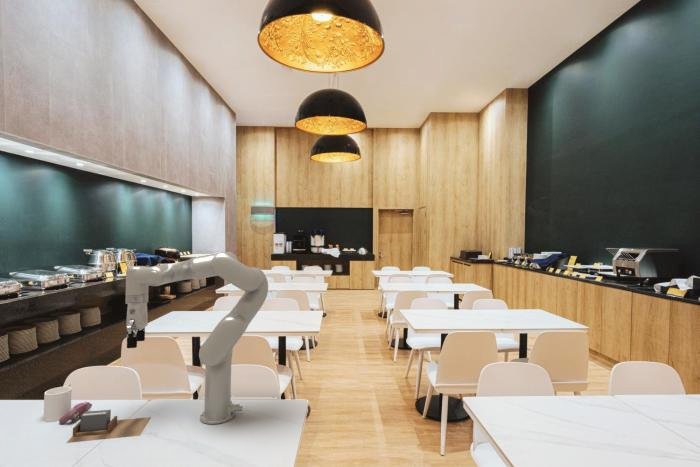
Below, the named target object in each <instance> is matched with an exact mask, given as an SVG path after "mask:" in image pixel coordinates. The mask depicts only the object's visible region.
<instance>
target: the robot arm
mask: <svg viewBox="0 0 700 467" xmlns="http://www.w3.org/2000/svg"><path fill="white" fill-rule="evenodd" d="M125 271H126V272H125V304H126V305H127V307H126V309H127V310H126V324H125V325H126V326H125V327H126V330H127V332H126V348H127V349H136V348H137V347H138V342H145V340H146V327H147V326H148V324H149V323H148V321H149V320H148V318H149V317H148V303H149V286H150V287H158V286H162V285H165V284H166V285H167V284H169V283H170V284H171V283H175V282H181V281H185V280H201V279H206V278H207V279H208V278H211V277H217V276H218V277H219V278H221V279H222V280H224V281H226V282H227V283H230V284H231V285H233V286H235V287H236V288H238V289H240V290H241V291H243V292H244V293H243V294H242V296H241V297H240V299H239V300H238V301H237V303H235V304H236V305H235V306H234V307H232V310H231V311H229V313H228V314H226V315H225V316H224V317H223V318H222V319H221V320H220V321H219V322H218V323H217V325H216V326H215V327H214V329H213V330H212V332H210V334H209V335H208V336H207V337H206V339H205V340H204V341H203V343H202V345H201V346H200V348H199V352H198V357H199V361H200V362H201V364H202V365H204V367H205V368H204V370H205V371H204V410H203V412H201V414H200V415H199V420H200V422H201V423H203V424H205V425H217V424H222V423H226V422H228V421H230V420H232V419H233V418H234V417H235V414H236V412H243V410H244V409H243V408H244V406H243V405H241V404H240V403H238V404H234V403H233V401H232V400H231V398H232V397H231V396H232V391H231V390H232V361H233V360H232V359H233V352H234V351H233V350H234V347H235V345H236V344H237V343H238V342H239V340H241V338H242V337H243V335H244V334H245V332H246V331H247V329H248V326H249V325H250V324H251V322H252V321H253V319H254V318H255V317H256V315H257V314H258V312H259V311H260V309H261V308H262V307H263V305H264V304H265V302H266V299H267V297H268V293H269V281H268V279H267V276H266V274H265V272H264V271H263V270H262V269H261V268H258V267H255V266H254V267H252V266H251V267H249V266H247V265H246V264H244V263H243V262H241V261H239V259H238V257H237V255H236V253H235V254H234V253H233V252H231V251H222V252H219V253H212V254H207V255H202V256H197V257H196V256H195V257H191V258H190V259H186V260H184V261H178V262H173V263H167V264H160V265H153V266H146V265H133V266H132V265H131V266H129V267H127V268H126V270H125Z"/></svg>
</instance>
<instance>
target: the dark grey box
mask: <svg viewBox="0 0 700 467" xmlns="http://www.w3.org/2000/svg"><path fill="white" fill-rule="evenodd" d="M111 413H112V411H111V409H105V410H91V411H89V410H88V411H87V412H85V413H84V414H83V415H81V418H80V421H79V422H80V432H90V431H101V430H107V425H108V424H109V423H110V421H111V420H112V419H111Z"/></svg>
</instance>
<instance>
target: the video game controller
mask: <svg viewBox="0 0 700 467" xmlns="http://www.w3.org/2000/svg"><path fill="white" fill-rule="evenodd" d="M92 407H93V404H92V403H91V402H89V401H87V400H86V401H84V402H79V403H78V404H75V405H74V406H73V407H71V409H70V410H69V411H68V412H67V413H66V414H65V415H64V416H62V417H61V418H60V420H59V421H58V422H59V424H60V425H64V424H66V423H68V422H69V421H71V422H75V421H76V420H77V419H78V418H80V419H81V415H83V414H84V413H85V412H89V410H91V408H92Z"/></svg>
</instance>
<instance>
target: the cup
mask: <svg viewBox="0 0 700 467" xmlns="http://www.w3.org/2000/svg"><path fill="white" fill-rule="evenodd" d="M72 391H73V390H72V384H71V383H70V384H69V383H68V384H66V385H65V386H59V387H53V388H50V389H48V390H46V391H45V392H44V396H43V398H44V399H43V422H46V423H55V422H59V420H60V418H61V417H62V416H64V415H65V414H66V413H67V412H68V411H69V410H70V409H71V408H72Z"/></svg>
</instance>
